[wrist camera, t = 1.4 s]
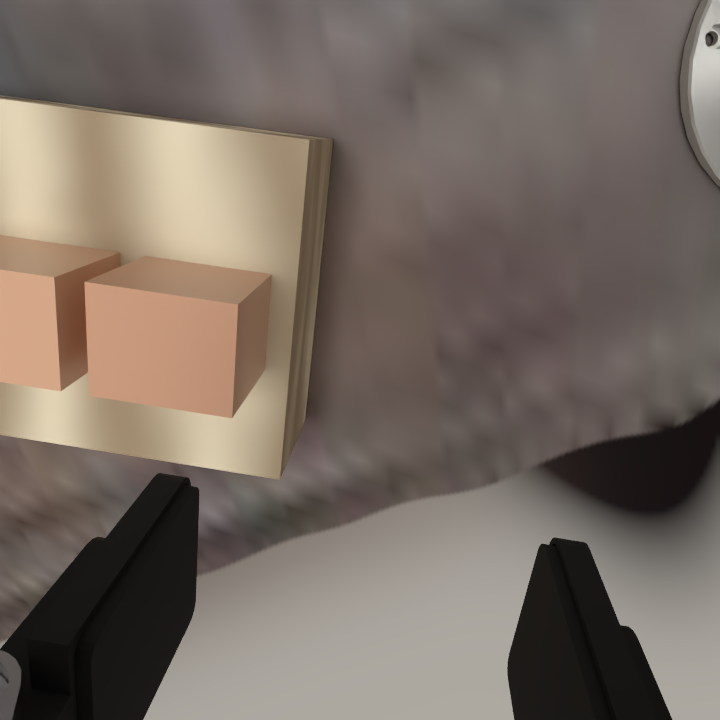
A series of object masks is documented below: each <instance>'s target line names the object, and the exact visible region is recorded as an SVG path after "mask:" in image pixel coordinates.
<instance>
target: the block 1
mask: <svg viewBox="0 0 720 720" xmlns="http://www.w3.org/2000/svg"><path fill="white" fill-rule="evenodd" d="M118 267H120V252H115V251H108V250H101V249H94V248H87V247H80V246H73V245H66V244H59V243H52V242H45V241H38V240H31V239H24V238H17V237H11V236H4V235H0V382H4V383H10V384H16V385H23V386H29V387H36V388H42V389H48V390H55V391H62V390H64V389H65V388H67V387H68V386H69V385H71V384H72V383H74V382H75V381H76V380H78V379H79V378H81V377H82V376H84V375H85V374H86V373H88V357H87V333H86V308H85V283H84V282H85V281H88V280H90V279H92V278H95V277H97V276H99V275H102V274H104V273H106V272H109V271H111V270H113V269H116V268H118Z"/></svg>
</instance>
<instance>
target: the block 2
mask: <svg viewBox="0 0 720 720" xmlns="http://www.w3.org/2000/svg"><path fill="white" fill-rule="evenodd" d="M271 279H272V274H267V273H260V272H253V271H247V270H240V269H233V268H226V267H219V266H212V265H205V264H198V263H191V262H184V261H177V260H170V259H163V258H156V257H149V256H144V257H141V258H139V259H137V260H134V261H132V262H130V263H127V264H125V265H123V266H120V267H118V268H116V269H113V270H111V271H109V272H106V273H104V274H102V275H99V276H97V277H95V278H92V279H90V280H88V281H85V282H84V283H85V308H86V333H87V357H88V382H89V396H93V397H99V398H106V399H112V400H119V401H125V402H131V403H138V404H144V405H150V406H157V407H163V408H170V409H176V410H182V411H189V412H195V413H201V414H208V415H214V416H221V417H227V418H233V416H234V415H235V413H236V412H237V411H238V409H239V408H240V406H241V405H242V403H243V402H244V400H245V399H246V397H247V396H248V394H249V393H250V391H251V390H252V389H253V387H254V386H255V384H256V383H257V381H258V380H259V378H260V377H261V375H262V374H263V372H264V371H265V363H266V349H267V335H268V321H269V307H270V293H271Z"/></svg>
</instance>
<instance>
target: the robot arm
mask: <svg viewBox="0 0 720 720" xmlns="http://www.w3.org/2000/svg"><path fill="white" fill-rule="evenodd" d="M707 33H710V34H712V36H713V42H712V44H711V46H709V47H708V46H707V45H706V43H705V35H706V34H707ZM680 101H681V113H682V117H683V121H684V125H685V129H686V134H687V138H688V140H689V142H690V144H691V146H692V149H693V151H694V153H695V155H696V157H697V159H698V161H699V163H700V165H701V166H702V167H703V168H704V170H705V171H706V172H707V173H708V175H709V176H710V177H711V178H712V179H713V181H714V182H715V183H716V184H717V185H718V186H719V187H720V0H702V1H701V3H700V5H699V6H698V8H697V10H696V12H695V15H694V18H693V21H692V25H691V28H690V31H689V34H688V37H687V40H686V43H685V46H684V53H683V60H682V67H681V73H680ZM198 517H199V489H198V488H197V487H193V486H191V483H190V479H189V478H187V477H181V476H175V475H168V474H162V473H159V474H157V475H156V476H155V477H154V478H153V479H152V480H151V482H150V483H149V484H148V485H147V487H146V488H145V489H144V491H143V492H142V493H141V494H140V496H139V497H138V498H137V499H136V501H135V502H134V503H133V504H132V506H131V507H130V508H129V509H128V511H127V512H126V513H125V514H124V516H123V517H122V518H121V519H120V521H119V522H118V523H117V525H116V526H115V527H114V528H113V530H112V531H111V532H110V533H109V535H108V536H107V537H106V538H102V537H96V538H94V539H92V540H91V541H90V542H89V543H88V544H87V545H86V546H85V547H84V548H83V550H82V551H81V552H80V553H79V555H78V556H77V557H76V558H75V559H74V561H73V562H72V563H71V564H70V565H69V567H68V568H67V569H66V570H65V571H64V573H63V574H62V575H61V576H60V577H59V579H58V580H57V581H56V582H55V584H54V585H53V586H52V587H51V588H50V590H49V591H48V592H47V593H46V594H45V596H44V597H43V598H42V599H41V600H40V602H39V603H38V604H37V605H36V606H35V608H34V609H33V610H32V611H31V612H30V614H29V615H28V616H27V617H26V619H25V620H24V621H23V622H22V623H21V625H20V626H19V627H18V628H17V629H16V631H15V632H14V633H13V634H12V635H11V637H10V638H9V639H8V640H7V641H6V643H5V644H4V645H3V646H2V648H1V649H0V720H143V719H144V716H145V715H146V713H147V710H148V708H149V706H150V704H151V702H152V700H153V698H154V696H155V694H156V692H157V690H158V688H159V686H160V684H161V681H162V679H163V677H164V675H165V673H166V671H167V669H168V667H169V665H170V663H171V661H172V659H173V657H174V655H175V652H176V650H177V648H178V646H179V644H180V642H181V640H182V638H183V636H184V634H185V632H186V630H187V628H188V625H189V623H190V621H191V619H192V615H193V612H194V608H195V602H196V577H197V547H198ZM508 681H509V688H510V694H511V700H512V707H513V713H514V720H672V718H671V716H670V713H669V711H668V709H667V706H666V704H665V702H664V699H663V697H662V694H661V692H660V690H659V687H658V685H657V683H656V680H655V678H654V676H653V673H652V671H651V669H650V666H649V664H648V661H647V659H646V657H645V654H644V652H643V650H642V647H641V645H640V643H639V640H638V638H637V636H636V635H635V633H634V631H633V630H632V629H631V628H629V627H627V626H621V625H620V624H619V622H618V619H617V617H616V614H615V612H614V609H613V607H612V604H611V602H610V599H609V597H608V594H607V592H606V590H605V587H604V584H603V582H602V579H601V577H600V574H599V572H598V569H597V567H596V564H595V562H594V559H593V557H592V554H591V552H590V549H589V547H588V545H587V544H586V543H584V542H579V541H571V540H566V539H560V538H553V539H552V540H551V542H550V544H549V545H546V544H541V545H540V547H539V549H538V553H537V556H536V559H535V563H534V567H533V570H532V574H531V578H530V581H529V585H528V588H527V592H526V596H525V599H524V603H523V606H522V610H521V614H520V617H519V621H518V624H517V628H516V632H515V635H514V639H513V642H512V646H511V650H510V653H509V658H508Z"/></svg>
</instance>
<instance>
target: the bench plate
mask: <svg viewBox="0 0 720 720" xmlns="http://www.w3.org/2000/svg"><path fill="white" fill-rule="evenodd" d="M332 147H333V139H329V138H321V137H314V136H306V135H299V134H291V133H283V132H276V131H268V130H261V129H253V128H246V127H238V126H230V125H223V124H215V123H208V122H200V121H192V120H185V119H177V118H170V117H162V116H155V115H147V114H139V113H132V112H124V111H117V110H109V109H102V108H94V107H86V106H79V105H71V104H64V103H56V102H49V101H41V100H33V99H24V98H13V97H3V96H0V235H4V236H11V237H17V238H24V239H31V240H38V241H45V242H52V243H59V244H66V245H73V246H80V247H87V248H94V249H101V250H108V251H115V252H120V266H123V265H125V264H127V263H130V262H132V261H134V260H137V259H139V258H141V257H144V256H149V257H156V258H163V259H170V260H177V261H184V262H191V263H198V264H205V265H212V266H219V267H226V268H233V269H240V270H247V271H253V272H260V273H267V274H272V279H271V293H270V307H269V321H268V335H267V349H266V363H265V371H264V372H263V374H262V375H261V377H260V378H259V380H258V381H257V383H256V384H255V386H254V387H253V389H252V390H251V391H250V393H249V394H248V396H247V397H246V399H245V400H244V402H243V403H242V405H241V406H240V408H239V409H238V411H237V412H236V413H235V415H234V416H233V418H227V417H221V416H214V415H208V414H201V413H195V412H189V411H182V410H176V409H170V408H163V407H157V406H150V405H144V404H138V403H131V402H125V401H119V400H112V399H106V398H99V397H93V396H89V382H88V373H86V374H85V375H84V376H82V377H81V378H79V379H78V380H76V381H75V382H74V383H72V384H71V385H69V386H68V387H67V388H65V389H64V390H62V391H55V390H48V389H42V388H36V387H29V386H23V385H16V384H10V383H4V382H0V435H6V436H12V437H18V438H24V439H31V440H37V441H43V442H49V443H55V444H62V445H68V446H74V447H80V448H86V449H93V450H99V451H105V452H111V453H117V454H124V455H130V456H136V457H142V458H148V459H155V460H161V461H167V462H173V463H179V464H186V465H192V466H198V467H204V468H210V469H217V470H223V471H229V472H235V473H241V474H248V475H254V476H260V477H266V478H272V479H279V480H280V478H281V476H282V474H283V471H284V469H285V466H286V464H287V462H288V459H289V457H290V455H291V452H292V450H293V447H294V445H295V443H296V440H297V438H298V436H299V433H300V431H301V428H302V426H303V424H304V421H305V417H306V407H307V397H308V387H309V377H310V367H311V357H312V347H313V337H314V327H315V317H316V307H317V297H318V287H319V277H320V267H321V257H322V247H323V237H324V227H325V217H326V207H327V197H328V187H329V177H330V167H331V157H332Z"/></svg>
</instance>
